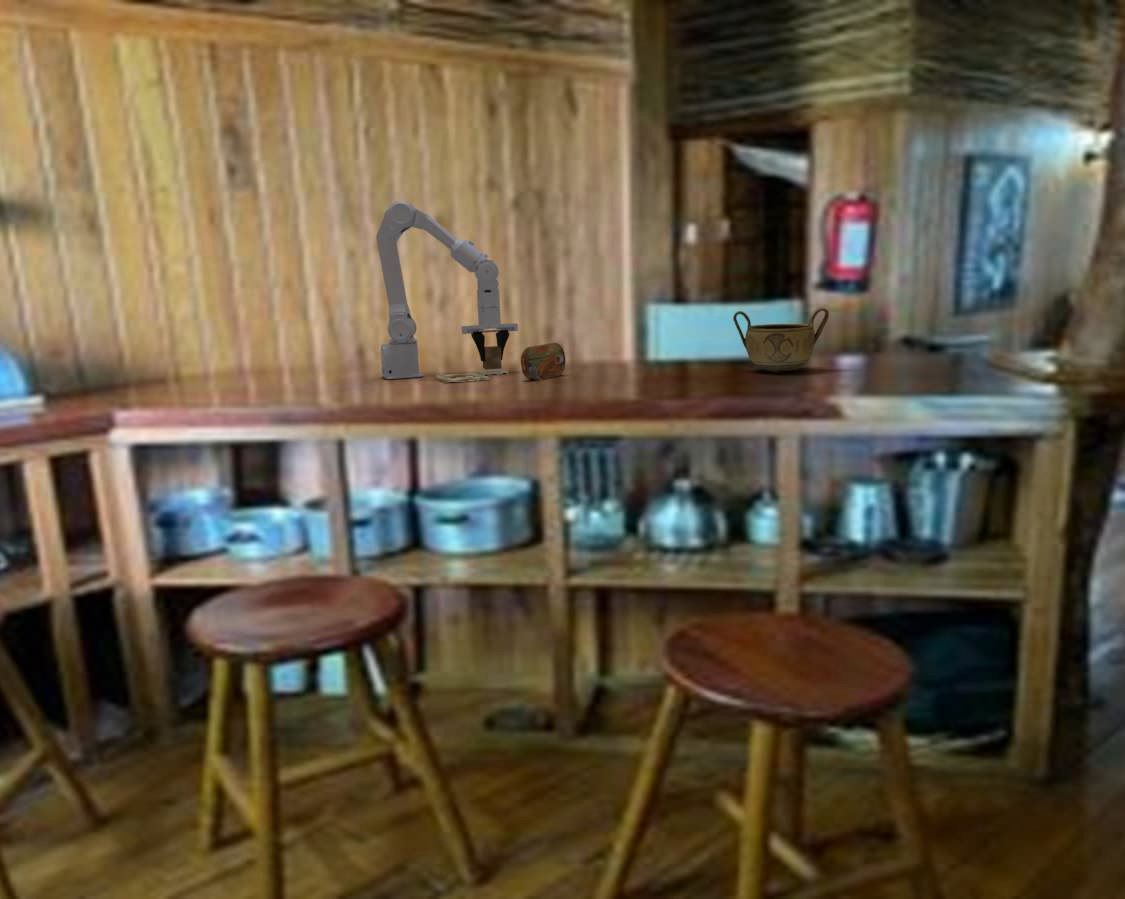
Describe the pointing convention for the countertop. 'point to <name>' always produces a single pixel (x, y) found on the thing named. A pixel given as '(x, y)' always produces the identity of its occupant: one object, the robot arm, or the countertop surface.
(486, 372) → the ceramic pad
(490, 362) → the walnut block
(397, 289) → the robot arm
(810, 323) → the ceramic bowl
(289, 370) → the countertop surface
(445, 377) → the pocket board
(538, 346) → the tin
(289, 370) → the countertop surface
